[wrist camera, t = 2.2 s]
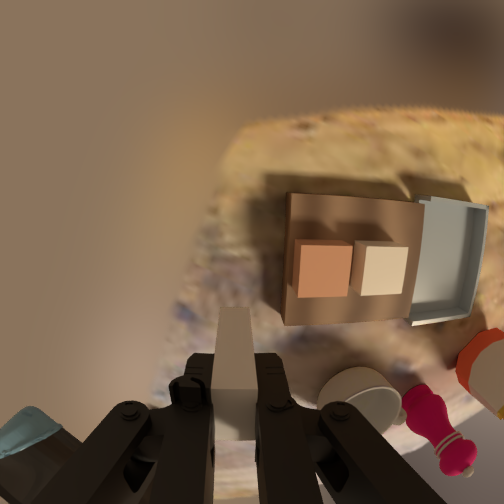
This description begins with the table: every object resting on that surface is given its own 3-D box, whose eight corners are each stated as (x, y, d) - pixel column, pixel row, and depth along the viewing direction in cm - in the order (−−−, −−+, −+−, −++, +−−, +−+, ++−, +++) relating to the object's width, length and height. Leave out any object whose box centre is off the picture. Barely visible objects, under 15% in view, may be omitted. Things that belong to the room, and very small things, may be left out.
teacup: (296, 400, 37) (307, 440, 29) (344, 344, 35) (366, 379, 27) (360, 422, 39) (377, 455, 31) (404, 374, 38) (428, 404, 30)
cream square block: (349, 286, 30) (360, 295, 27) (354, 240, 29) (366, 246, 26) (388, 284, 30) (401, 293, 28) (394, 241, 29) (408, 247, 26)
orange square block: (291, 287, 30) (297, 297, 27) (294, 239, 29) (301, 245, 26) (337, 286, 30) (346, 296, 27) (341, 240, 29) (352, 246, 26)
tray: (399, 314, 35) (411, 325, 31) (414, 194, 31) (431, 196, 28) (456, 308, 35) (469, 316, 32) (472, 203, 32) (488, 205, 29)
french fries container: (490, 337, 38) (550, 382, 20) (452, 376, 39) (507, 434, 21) (488, 321, 37) (553, 367, 19) (447, 363, 38) (508, 423, 20)
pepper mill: (436, 389, 39) (495, 458, 20) (408, 417, 40) (457, 492, 21) (419, 376, 38) (485, 454, 18) (389, 407, 39) (442, 492, 19)
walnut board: (280, 314, 34) (284, 325, 31) (286, 192, 31) (291, 193, 28) (397, 308, 35) (408, 317, 32) (411, 201, 31) (425, 204, 29)
